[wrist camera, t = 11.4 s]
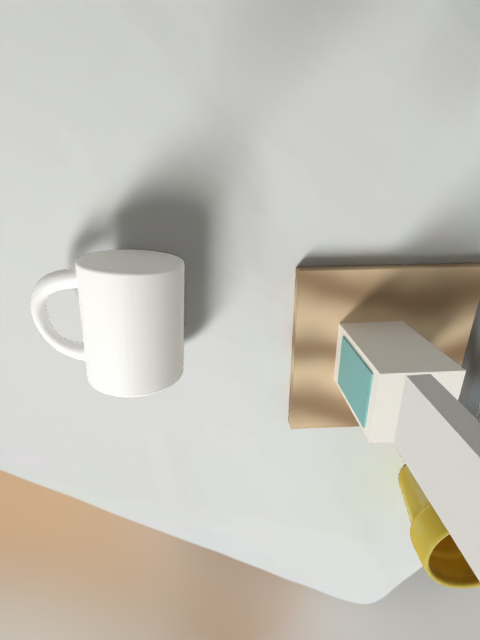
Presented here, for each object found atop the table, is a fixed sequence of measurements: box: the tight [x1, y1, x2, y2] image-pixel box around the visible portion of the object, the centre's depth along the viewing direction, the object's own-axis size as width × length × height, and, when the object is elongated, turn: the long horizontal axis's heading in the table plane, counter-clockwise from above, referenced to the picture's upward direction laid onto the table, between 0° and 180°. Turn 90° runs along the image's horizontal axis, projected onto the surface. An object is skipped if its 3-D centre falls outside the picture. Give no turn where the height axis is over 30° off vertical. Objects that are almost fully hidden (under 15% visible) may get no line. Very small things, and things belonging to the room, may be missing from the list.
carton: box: [334, 321, 466, 443], centre depth 29 cm, size 6×6×9 cm
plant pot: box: [399, 465, 480, 588], centre depth 37 cm, size 10×10×10 cm
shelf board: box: [288, 263, 480, 429], centre depth 33 cm, size 17×18×4 cm
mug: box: [31, 250, 185, 397], centre depth 28 cm, size 12×10×8 cm
